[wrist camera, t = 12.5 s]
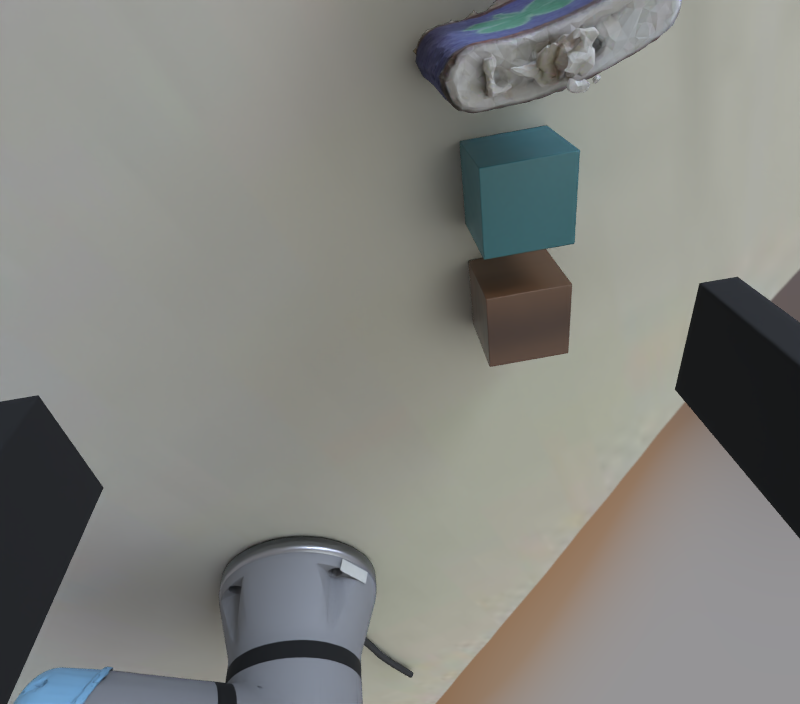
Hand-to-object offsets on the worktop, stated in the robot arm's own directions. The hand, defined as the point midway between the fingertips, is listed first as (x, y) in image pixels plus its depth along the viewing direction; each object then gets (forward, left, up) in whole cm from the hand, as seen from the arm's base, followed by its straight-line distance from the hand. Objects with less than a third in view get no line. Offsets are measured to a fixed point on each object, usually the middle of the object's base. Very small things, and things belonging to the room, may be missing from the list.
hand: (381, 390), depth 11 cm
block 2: (-12, -8, -22) cm, 26 cm away
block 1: (-4, -8, -22) cm, 24 cm away
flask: (+3, -8, -22) cm, 24 cm away
